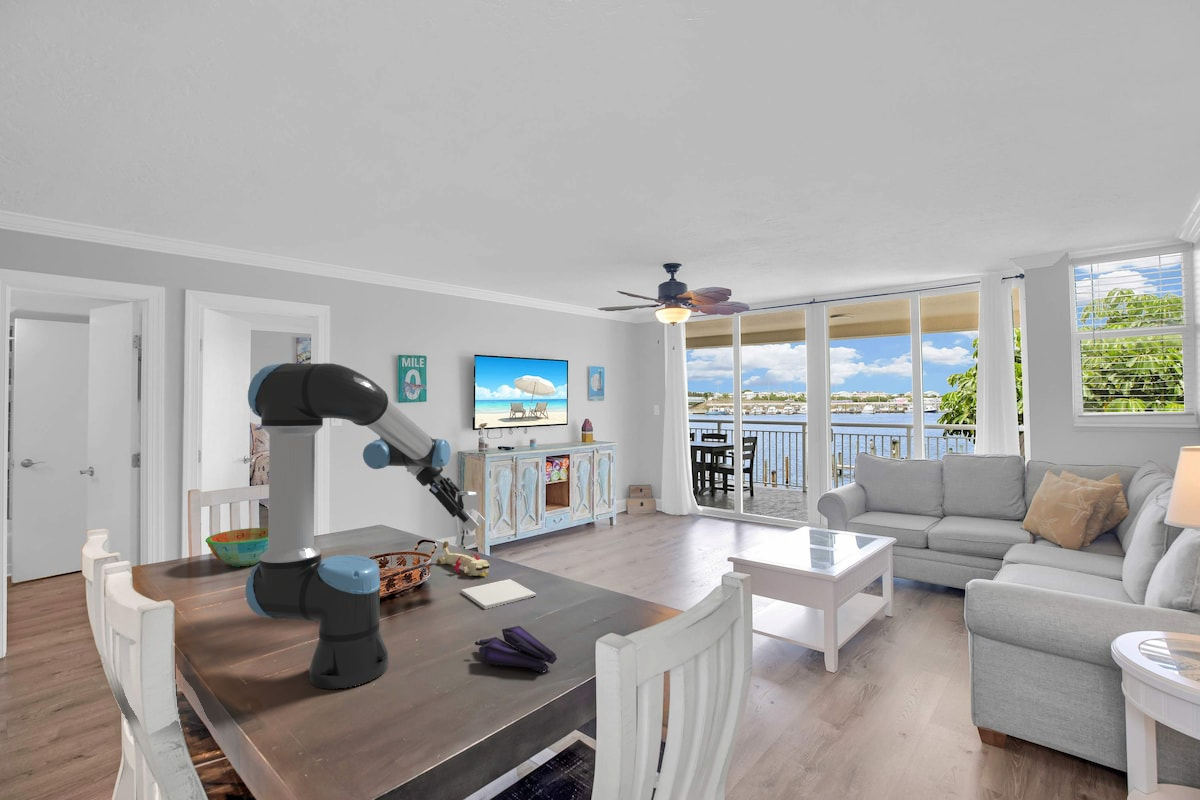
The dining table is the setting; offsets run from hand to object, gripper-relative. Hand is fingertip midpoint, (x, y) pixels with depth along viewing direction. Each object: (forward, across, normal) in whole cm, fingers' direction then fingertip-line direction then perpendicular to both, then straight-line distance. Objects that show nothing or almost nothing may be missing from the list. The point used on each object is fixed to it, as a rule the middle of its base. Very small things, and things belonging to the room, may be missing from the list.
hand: (478, 525), depth 166 cm
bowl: (-45, -26, -77) cm, 93 cm away
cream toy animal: (+8, -23, -22) cm, 32 cm away
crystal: (+27, +42, -1) cm, 50 cm away
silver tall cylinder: (+2, 0, -7) cm, 7 cm away
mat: (+19, +1, -9) cm, 21 cm away
